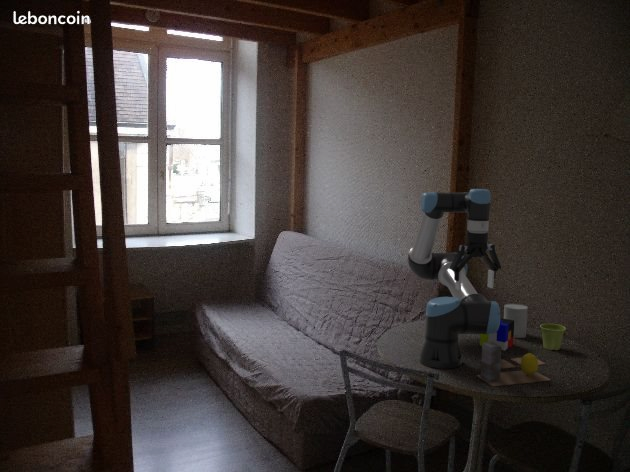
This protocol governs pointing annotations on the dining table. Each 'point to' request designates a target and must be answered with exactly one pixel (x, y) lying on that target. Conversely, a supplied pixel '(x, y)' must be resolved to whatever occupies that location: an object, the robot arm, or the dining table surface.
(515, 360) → the brown wooden plank
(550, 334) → the plant pot
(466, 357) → the dining table surface
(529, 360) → the lemon
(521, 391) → the dining table surface
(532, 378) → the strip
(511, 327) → the puzzle toy
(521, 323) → the white cylinder
